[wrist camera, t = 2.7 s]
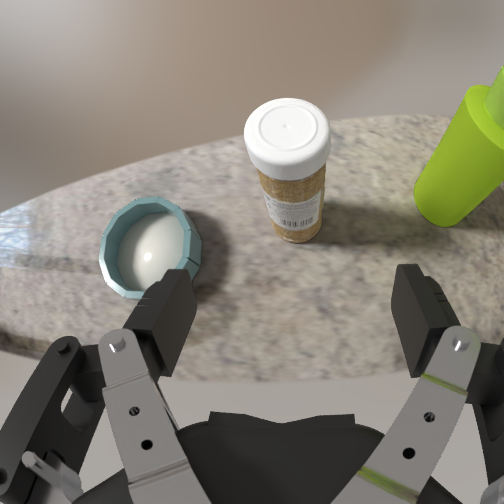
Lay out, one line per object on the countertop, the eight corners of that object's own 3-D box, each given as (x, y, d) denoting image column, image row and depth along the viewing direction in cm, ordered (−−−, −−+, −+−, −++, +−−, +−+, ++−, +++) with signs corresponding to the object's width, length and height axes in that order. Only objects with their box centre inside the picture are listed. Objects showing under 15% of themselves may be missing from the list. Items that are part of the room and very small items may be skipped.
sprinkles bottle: (326, 202, 28) (337, 101, 15) (315, 249, 27) (324, 170, 14) (277, 192, 29) (255, 90, 16) (264, 238, 28) (231, 155, 15)
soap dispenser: (470, 239, 24) (608, 119, 5) (409, 215, 26) (514, 47, 7) (474, 187, 26) (578, 54, 7) (417, 164, 27) (492, -2, 8)
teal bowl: (167, 321, 27) (152, 319, 24) (102, 272, 30) (84, 265, 27) (219, 234, 29) (210, 223, 26) (148, 196, 31) (134, 183, 28)
